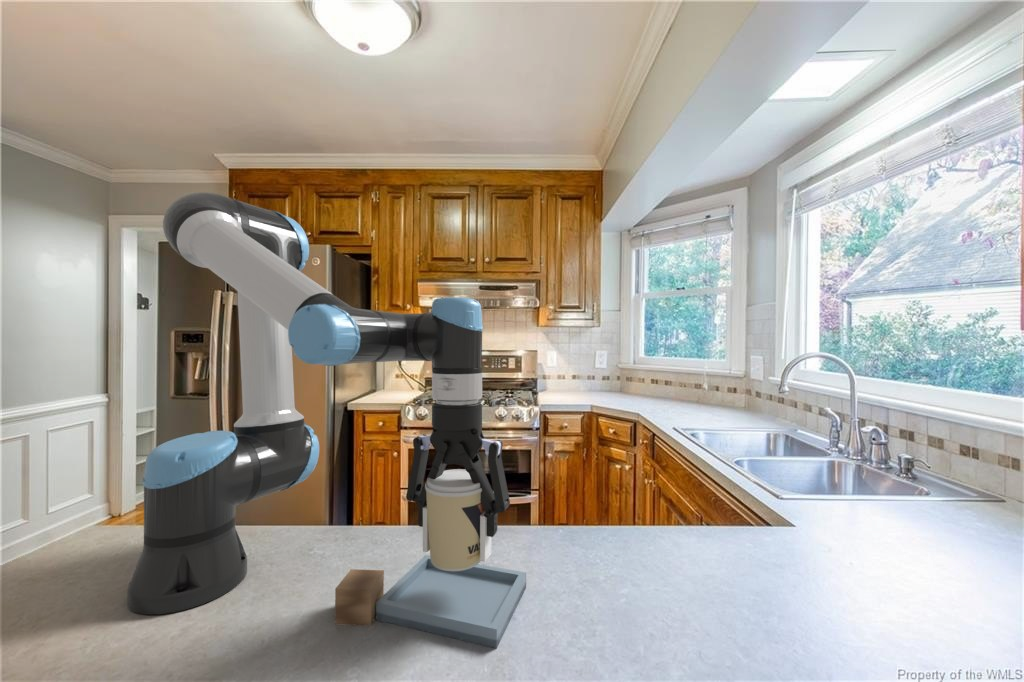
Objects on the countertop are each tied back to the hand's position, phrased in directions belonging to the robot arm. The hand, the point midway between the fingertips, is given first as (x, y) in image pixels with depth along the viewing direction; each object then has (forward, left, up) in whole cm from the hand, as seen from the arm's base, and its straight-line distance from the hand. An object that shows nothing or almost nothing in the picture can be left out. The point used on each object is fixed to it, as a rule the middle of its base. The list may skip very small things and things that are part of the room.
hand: (456, 552), depth 63 cm
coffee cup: (0, 0, -1) cm, 1 cm away
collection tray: (0, 0, -8) cm, 8 cm away
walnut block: (-12, -6, -8) cm, 16 cm away
